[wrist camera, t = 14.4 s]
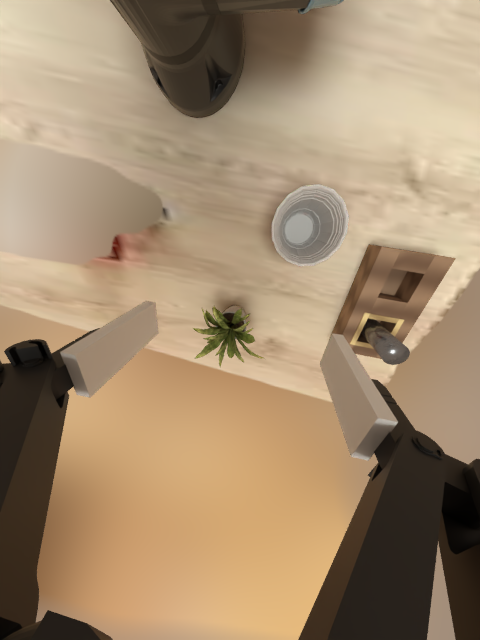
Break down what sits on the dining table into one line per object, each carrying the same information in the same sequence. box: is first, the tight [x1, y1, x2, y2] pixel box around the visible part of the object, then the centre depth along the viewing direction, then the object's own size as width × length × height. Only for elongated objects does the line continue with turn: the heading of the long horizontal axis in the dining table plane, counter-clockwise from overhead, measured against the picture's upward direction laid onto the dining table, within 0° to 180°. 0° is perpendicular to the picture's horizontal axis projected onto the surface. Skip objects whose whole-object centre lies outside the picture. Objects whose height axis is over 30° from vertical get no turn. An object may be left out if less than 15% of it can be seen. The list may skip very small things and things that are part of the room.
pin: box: [361, 318, 410, 365], centre depth 38 cm, size 4×4×13 cm
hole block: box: [332, 245, 456, 359], centre depth 40 cm, size 22×12×5 cm, turn 172°
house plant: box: [193, 306, 265, 366], centre depth 41 cm, size 14×14×16 cm
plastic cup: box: [272, 184, 349, 266], centre depth 33 cm, size 11×11×12 cm
